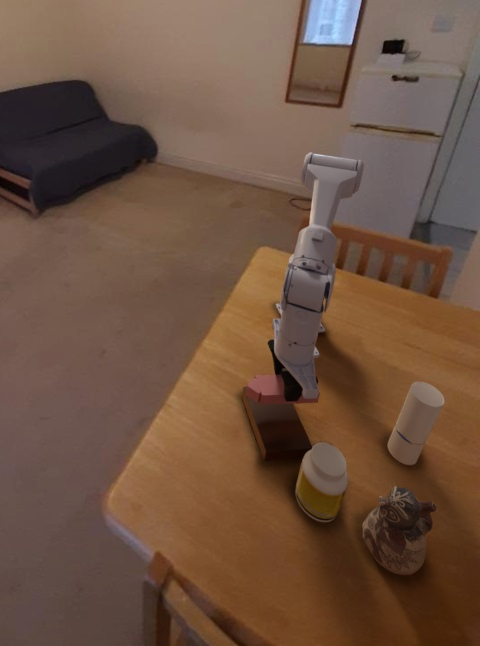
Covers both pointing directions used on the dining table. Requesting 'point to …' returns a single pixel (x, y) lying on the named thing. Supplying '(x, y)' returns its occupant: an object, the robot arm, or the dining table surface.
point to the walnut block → (277, 430)
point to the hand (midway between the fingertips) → (286, 387)
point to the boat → (271, 390)
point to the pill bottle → (322, 482)
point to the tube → (415, 422)
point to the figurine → (399, 531)
